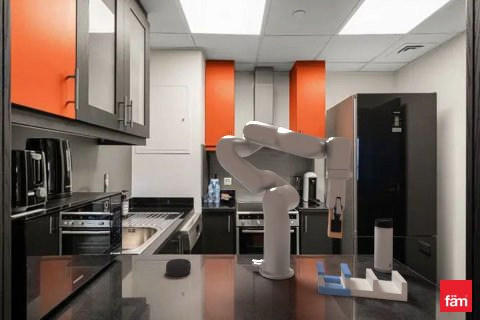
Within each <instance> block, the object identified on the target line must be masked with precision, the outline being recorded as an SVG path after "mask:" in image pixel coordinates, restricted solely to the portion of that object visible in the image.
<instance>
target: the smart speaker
mask: <svg viewBox="0 0 480 320" xmlns="http://www.w3.org/2000/svg"><path fill="white" fill-rule="evenodd" d="M191 271H192V263H191V261H190V260H189V259H185V258H175V259H174V258H173V259H170V260H168V261H167V262H166V264H165V273H166V274H167V275H168V276H171V277H183V276H186V275H188V274H190V273H191Z"/></svg>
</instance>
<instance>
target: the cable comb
mask: <svg viewBox="0 0 480 320" xmlns="http://www.w3.org/2000/svg"><path fill="white" fill-rule="evenodd" d="M339 265H340V276H338V275H327V274H325V267H324V264H323V261H318V260H317V261H316V283H317V291H318V294H323V295H329V296H330V295H331V296H332V295H333V296H342V297H351V296H352V297H361V298H369V299H380V300H381V299H383V300H390V301H400V302H401V301H402V302H408V282H407V281H406V280H405V278H404V277H403V276H402V275H401V274H400V273H399V272H398V270H392V272H391V280H383V279H382V280H381V279H378V277H377V276H376V275H375V272H373V270H372V268H366V269H365V278H360V277H352V273H351V270H350V268H349V267H348V263H343V262H342V263H340V264H339Z"/></svg>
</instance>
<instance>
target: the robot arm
mask: <svg viewBox="0 0 480 320" xmlns="http://www.w3.org/2000/svg"><path fill="white" fill-rule="evenodd" d="M264 147H266V148H269V149H273V150H275V151H276V150H277V151H279V152H280V151H281V152H284V153H288V154H292V155H295V156H299V157H302V158H306V159H313V160H315V159H316V160H321V159H322V160H323V159H326V161H325V164H326V165H325V179H326V180H327V189H326V190H327V191H326V202H325V203H326V205H325V206H326V208H327V210H328V211H329V210H331V209H332V219H331V232H337V233H341V226H342V220H341V217H342V211H343V212H344V210H345V207H346V191H347V190H346V189H347V181H350V176H351V154H352V140H351V139H350V138H349V137H344V136H334V137H329V138H327V137H325V138H324V137H320V136H317V135H311V134H307V133H303V132H298V131H294V130H290V129H287V128H286V127H283V126H278V125H273V124H271V123H270V124H269V123H266V122H265V123H264V122H260V121H255V120H253V121H249V122H247V123H246V124H244V126H243V128H242V137H241V136H236V135H234V136H233V135H226V136H222V137H221V138H220V139H218V141H217V142H216V145H215V155H216V159H217V161H218V163H219V165H220V166H221V167H222V169H224V170H225V171H226V172H227V173H229V175H231V176H232V177H233V178H234V179H235V180H236V181H237V182H238V183H240V184H241V185H242V186H243V187H244V188H245V189H247V190H248V191H249V192H250V193H251V194H253V195H256V196H257V195H259V196H261V195H263V196H262V201H261V204H262V205H261V206H262V212H263V231H264V232H263V259H260V260H259V259H252V260H251V266H254V268H259V270H258V271H259V274H260V275H261V276H262V277H264V278H265V279H266V278H267V279H271V280H288V279H291V278H293V277H294V275H295V271H294V269H293V268H291V267H290V266H291V265H290V263H291V221H290V220H291V219H290V215H289V211H291V210H294V209H295V208H297V206H298V205H299V203H300V194H299V192H298V191H297V189H296V188H295V187H294V186H292V185H291V184H290V183H289V182H287V181H286V180H285V179H284V178H282V177H281V176H280V175H279V174H277V173H276V172H274V171H272V170H269V169H266V170H265V169H259V168H257V167H256V166H254V165H253V164H252V163H251V162H250V161H249V160H246V159H245V158H247V157H249V156H251V155H253V154H254V153H255V152H257V151H259V150H261V149H262V148H264ZM334 208H336V210H334ZM334 212H335V213H334Z"/></svg>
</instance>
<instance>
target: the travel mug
mask: <svg viewBox="0 0 480 320" xmlns="http://www.w3.org/2000/svg"><path fill="white" fill-rule="evenodd" d="M394 221H395V220H394V219H393V218H391V217H390V218H387V217H386V218H382V217H381V218H376V219H375V220H374V257H373V259H374V260H373V261H374V265H373V266H374V270H375V271H376V272H378V273H379V272H380V273H383V274H392V271H393V256H394V255H393V249H394V248H393V246H394V245H393V244H394V243H393V242H394V241H393V239H394V238H393V237H394V234H393V233H394V228H393V222H394Z"/></svg>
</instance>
